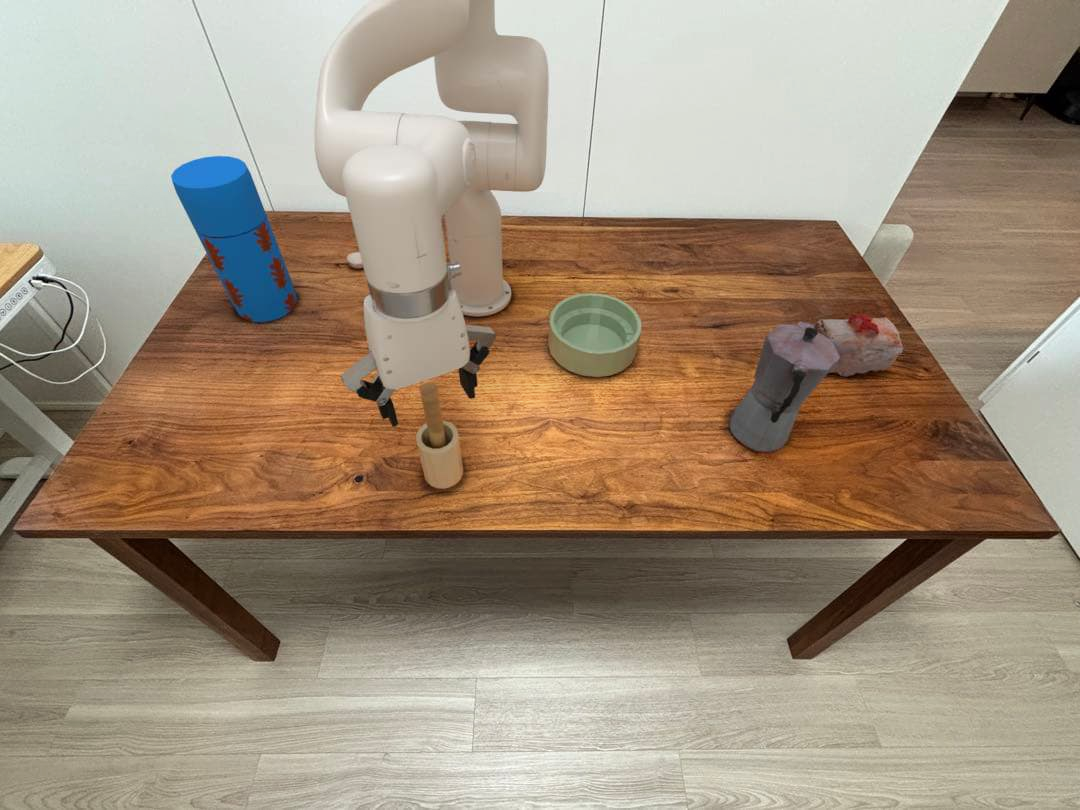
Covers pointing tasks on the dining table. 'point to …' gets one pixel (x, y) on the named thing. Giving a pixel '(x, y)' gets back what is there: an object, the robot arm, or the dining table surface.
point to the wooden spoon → (433, 415)
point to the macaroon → (355, 260)
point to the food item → (862, 343)
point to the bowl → (594, 334)
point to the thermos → (236, 235)
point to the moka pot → (782, 385)
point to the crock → (440, 457)
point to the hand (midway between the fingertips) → (430, 404)
